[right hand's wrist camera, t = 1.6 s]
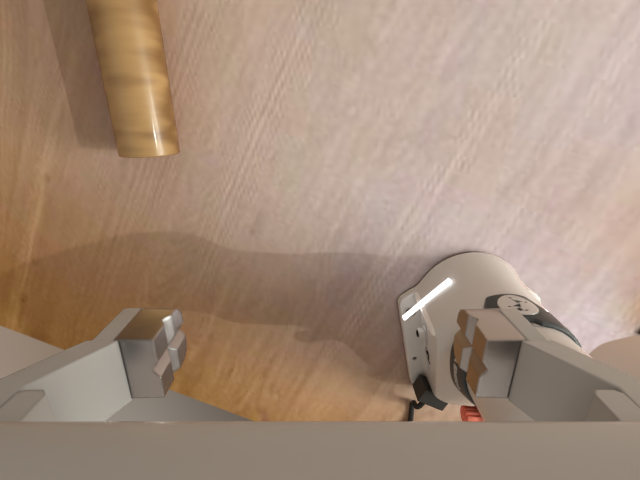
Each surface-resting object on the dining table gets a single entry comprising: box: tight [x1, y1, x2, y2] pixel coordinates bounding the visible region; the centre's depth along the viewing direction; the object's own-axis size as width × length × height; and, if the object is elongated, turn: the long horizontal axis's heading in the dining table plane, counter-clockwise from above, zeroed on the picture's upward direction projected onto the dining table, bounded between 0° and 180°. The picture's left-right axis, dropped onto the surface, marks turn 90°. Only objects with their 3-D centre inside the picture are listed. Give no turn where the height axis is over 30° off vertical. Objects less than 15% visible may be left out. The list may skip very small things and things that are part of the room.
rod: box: [86, 0, 180, 158], centre depth 33 cm, size 28×6×6 cm, turn 1°
